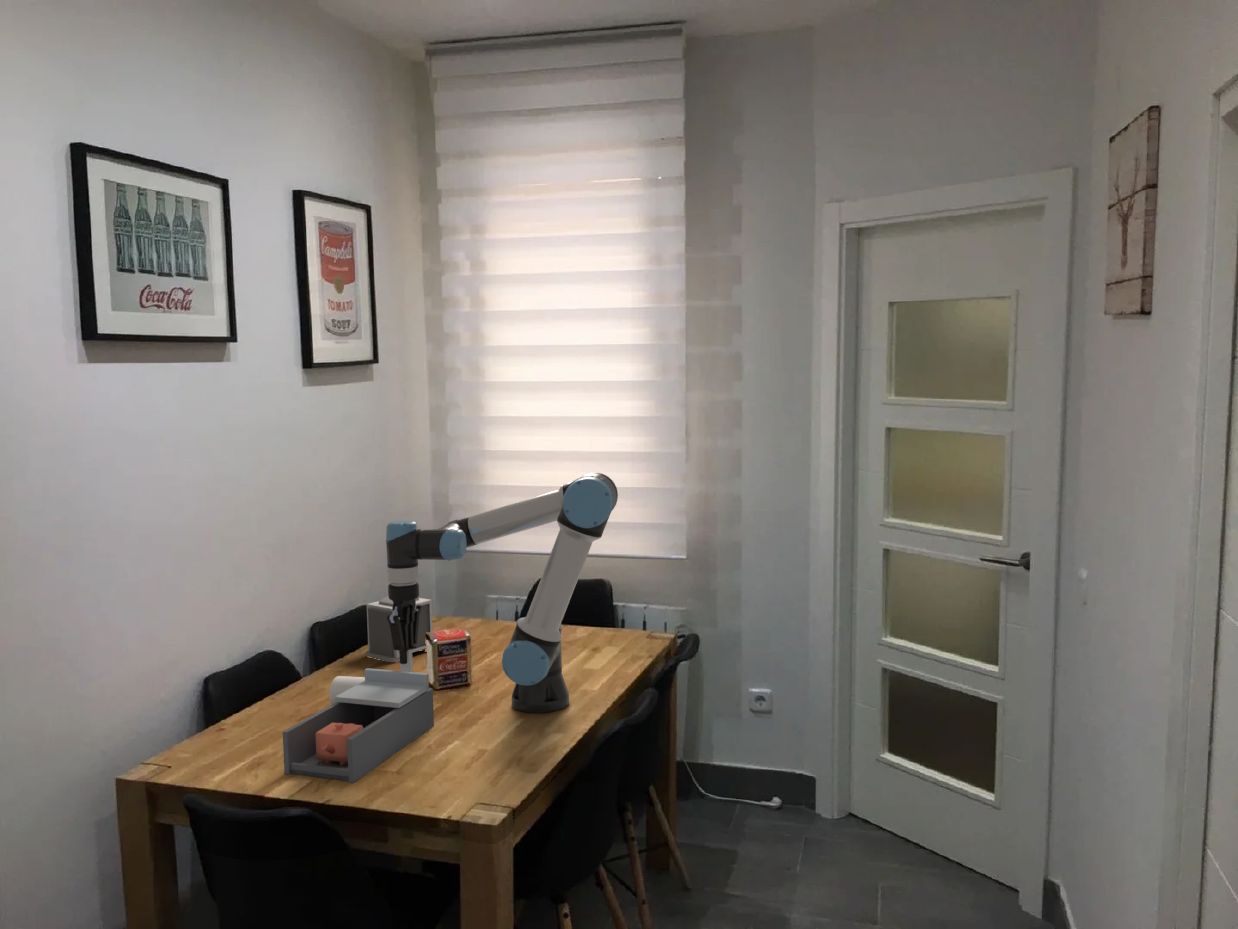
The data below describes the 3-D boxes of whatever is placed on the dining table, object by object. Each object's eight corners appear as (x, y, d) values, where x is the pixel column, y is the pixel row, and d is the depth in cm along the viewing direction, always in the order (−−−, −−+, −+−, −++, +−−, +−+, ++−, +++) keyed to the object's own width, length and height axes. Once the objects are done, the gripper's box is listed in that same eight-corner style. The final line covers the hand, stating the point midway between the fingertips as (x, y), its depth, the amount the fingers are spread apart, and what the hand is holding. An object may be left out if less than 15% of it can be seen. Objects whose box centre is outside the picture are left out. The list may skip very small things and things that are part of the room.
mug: (365, 713, 250) (363, 683, 249) (329, 711, 252) (328, 681, 251) (385, 698, 261) (384, 669, 261) (351, 696, 263) (350, 667, 263)
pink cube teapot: (308, 769, 211) (306, 732, 210) (338, 749, 222) (337, 714, 222) (339, 773, 209) (338, 735, 208) (368, 752, 220) (367, 717, 220)
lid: (428, 689, 237) (428, 673, 237) (399, 708, 224) (398, 691, 223) (367, 683, 242) (367, 668, 242) (335, 701, 229) (334, 685, 229)
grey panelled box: (409, 643, 316) (407, 588, 314) (437, 649, 308) (435, 593, 306) (364, 657, 301) (361, 599, 299) (392, 664, 293) (390, 604, 292)
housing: (434, 726, 239) (432, 688, 238) (353, 782, 206) (351, 739, 205) (372, 719, 245) (371, 683, 244) (284, 774, 211) (282, 731, 210)
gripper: (403, 577, 249) (406, 666, 251) (376, 587, 236) (379, 681, 239) (429, 578, 246) (432, 668, 249) (403, 589, 234) (406, 684, 236)
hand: (406, 675), depth 244 cm, fingers closed
